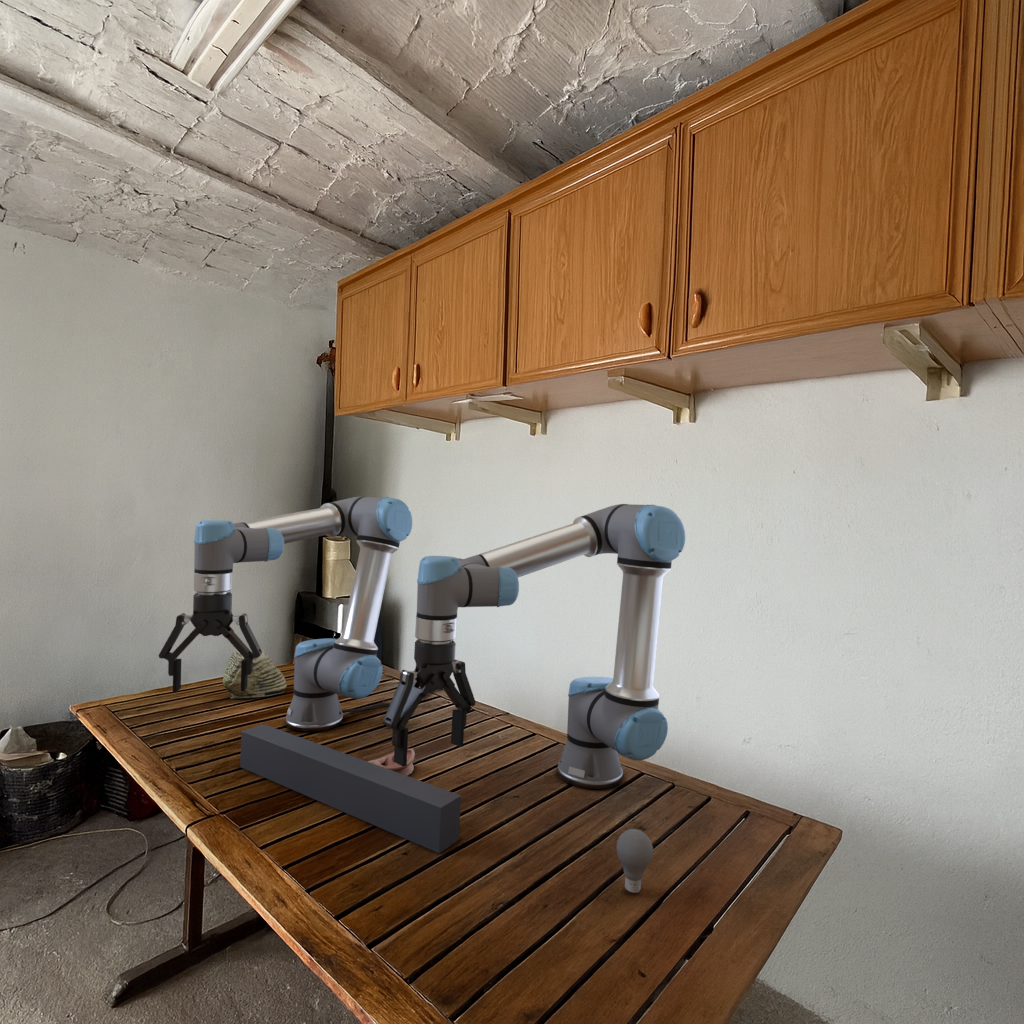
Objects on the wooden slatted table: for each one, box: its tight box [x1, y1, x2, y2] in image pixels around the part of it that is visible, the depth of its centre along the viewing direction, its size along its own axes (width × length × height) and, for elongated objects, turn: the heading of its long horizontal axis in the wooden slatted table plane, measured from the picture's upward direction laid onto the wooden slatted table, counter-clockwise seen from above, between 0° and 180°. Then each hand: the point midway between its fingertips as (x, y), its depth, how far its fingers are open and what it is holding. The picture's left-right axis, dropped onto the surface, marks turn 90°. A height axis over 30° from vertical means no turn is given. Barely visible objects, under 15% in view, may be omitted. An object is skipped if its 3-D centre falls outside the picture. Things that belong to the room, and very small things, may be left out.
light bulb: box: [615, 828, 654, 894], centre depth 106 cm, size 6×6×10 cm
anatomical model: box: [367, 748, 416, 776], centre depth 147 cm, size 13×4×12 cm
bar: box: [239, 723, 462, 854], centre depth 133 cm, size 59×6×8 cm, turn 57°
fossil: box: [222, 647, 288, 699], centre depth 198 cm, size 9×18×15 cm, turn 132°
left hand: (210, 690), depth 137 cm, fingers open, 13 cm apart
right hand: (429, 754), depth 117 cm, fingers open, 13 cm apart
